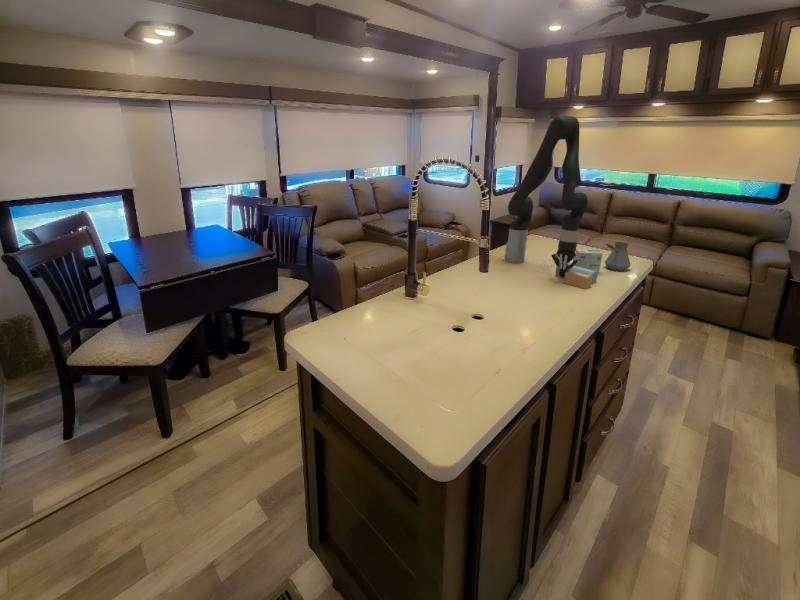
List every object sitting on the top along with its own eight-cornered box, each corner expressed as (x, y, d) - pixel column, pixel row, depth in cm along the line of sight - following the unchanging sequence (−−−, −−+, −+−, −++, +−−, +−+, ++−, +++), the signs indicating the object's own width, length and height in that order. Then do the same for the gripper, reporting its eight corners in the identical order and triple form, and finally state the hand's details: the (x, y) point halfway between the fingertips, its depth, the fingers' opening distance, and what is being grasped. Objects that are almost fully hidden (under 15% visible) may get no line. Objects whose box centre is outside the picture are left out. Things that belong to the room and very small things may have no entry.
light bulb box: (594, 270, 203) (598, 249, 199) (599, 274, 197) (603, 253, 193) (572, 269, 204) (575, 248, 200) (576, 273, 198) (580, 252, 194)
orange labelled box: (563, 282, 185) (565, 272, 184) (569, 280, 189) (571, 269, 187) (585, 288, 178) (587, 277, 177) (590, 286, 182) (592, 275, 180)
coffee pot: (610, 263, 214) (616, 235, 208) (633, 269, 205) (640, 240, 200) (588, 271, 202) (594, 241, 196) (612, 277, 193) (618, 246, 188)
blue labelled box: (554, 276, 194) (556, 266, 192) (563, 273, 199) (565, 263, 197) (587, 285, 183) (589, 274, 181) (596, 281, 188) (598, 271, 186)
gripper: (550, 237, 184) (544, 274, 190) (578, 243, 174) (571, 282, 181) (559, 235, 188) (553, 271, 195) (587, 240, 179) (580, 278, 185)
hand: (562, 276), depth 188 cm, fingers closed
